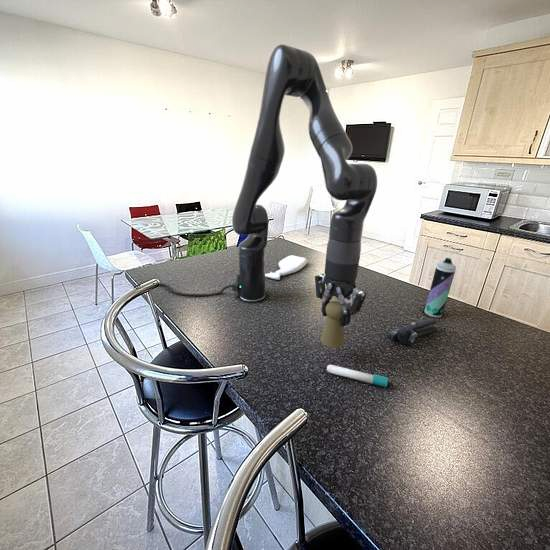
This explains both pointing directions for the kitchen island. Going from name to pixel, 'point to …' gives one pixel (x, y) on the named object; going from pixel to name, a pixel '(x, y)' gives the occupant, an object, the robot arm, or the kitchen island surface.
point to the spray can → (440, 288)
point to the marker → (358, 375)
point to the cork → (333, 326)
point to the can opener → (412, 331)
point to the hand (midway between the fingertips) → (334, 319)
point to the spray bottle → (288, 266)
